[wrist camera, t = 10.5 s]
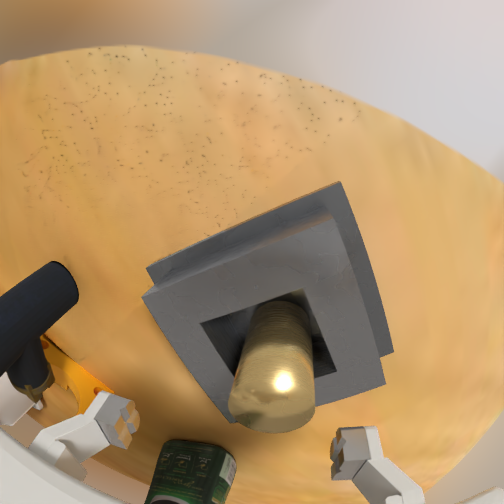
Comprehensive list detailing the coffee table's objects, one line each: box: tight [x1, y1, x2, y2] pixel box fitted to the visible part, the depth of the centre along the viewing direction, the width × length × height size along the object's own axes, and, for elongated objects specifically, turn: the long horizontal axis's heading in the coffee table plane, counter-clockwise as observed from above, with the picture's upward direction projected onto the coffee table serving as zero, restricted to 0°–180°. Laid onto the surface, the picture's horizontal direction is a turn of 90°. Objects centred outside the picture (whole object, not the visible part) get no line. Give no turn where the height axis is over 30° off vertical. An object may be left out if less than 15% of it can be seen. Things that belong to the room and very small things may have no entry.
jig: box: [141, 181, 394, 423], centre depth 18 cm, size 15×14×5 cm
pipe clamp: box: [40, 334, 115, 416], centre depth 25 cm, size 12×4×6 cm, turn 57°
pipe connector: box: [0, 261, 79, 404], centre depth 18 cm, size 12×5×15 cm, turn 160°
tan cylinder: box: [228, 301, 315, 433], centre depth 16 cm, size 4×4×8 cm
